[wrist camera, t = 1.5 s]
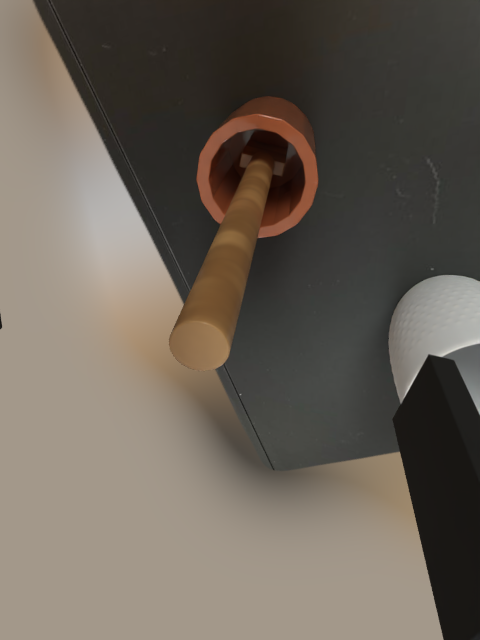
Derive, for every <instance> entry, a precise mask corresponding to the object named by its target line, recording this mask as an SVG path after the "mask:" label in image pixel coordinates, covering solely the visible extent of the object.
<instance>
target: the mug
mask: <svg viewBox="0 0 480 640" xmlns="http://www.w3.org/2000/svg"><path fill="white" fill-rule="evenodd" d="M388 344H389V355H390V363H391V366H392V373H393V375H394V382H395V385H396V388H397V394H398V396H399V399H400V403H402V401H403V399H404V398H405V396H406V394H407V392H408V390H409V389H410V387H411V385H412V383H413V381H414V380H415V378H416V376H417V374H418V372H419V371H420V369H421V367H422V365H423V363H424V362H425V360H426V358H427V356H428V354H430V355H435V356H439V357H443V358H448V359H452V360H454V361H455V363H456V365H457V367H458V369H459V372H460V374H461V376H462V378H463V380H464V382H465V384H466V386H467V389H468V391H469V393H470V395H471V397H472V399H473V401H474V404H475V406H476V408H477V410H478V412H479V414H480V281H477V280H475V279H473V278H467V277H465V276H457V275H441V276H436V277H431V278H428V279H426V280H423V281H421V282H420V283H418V284H416V285H415V286H414V287H412V288H411V289H410V290H409V291H408V292H407V293H406V294H405V295H404V296H403V297H402V299H401V300H400V301H399V303H398V304H397V307H396V309H395V310H394V314H393V316H392V320H391V324H390V331H389V341H388Z"/></svg>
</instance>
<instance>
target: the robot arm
mask: <svg viewBox="0 0 480 640" xmlns="http://www.w3.org/2000/svg"><path fill="white" fill-rule="evenodd" d="M1 328H2V323H1V316H0V329H1ZM393 423H394V427H395V432H396V436H397V440H398V445H399V449H400V453H401V458H402V462H403V466H404V470H405V475H406V479H407V483H408V487H409V492H410V496H411V501H412V504H413V509H414V513H415V518H416V522H417V527H418V531H419V535H420V540H421V544H422V548H423V552H424V557H425V560H426V565H427V570H428V574H429V578H430V583H431V587H432V591H433V596H434V600H435V604H436V608H437V612H438V617H439V622H440V625H441V630H442V634H443V639H444V640H480V414H479V412H478V410H477V408H476V406H475V404H474V401H473V399H472V397H471V395H470V393H469V391H468V389H467V386H466V384H465V382H464V380H463V378H462V376H461V374H460V372H459V369H458V367H457V365H456V363H455V361H454V360H452V359H448V358H443V357H439V356H435V355H430V354H428V356H427V358H426V360H425V362H424V363H423V365H422V367H421V369H420V371H419V372H418V374H417V376H416V378H415V380H414V381H413V383H412V385H411V387H410V389H409V390H408V392H407V394H406V396H405V398H404V399H403V401H402V403H401V405H400V407H399V408H398V410H397V412H396V414H395V416H394V418H393Z"/></svg>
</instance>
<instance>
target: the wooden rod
mask: <svg viewBox="0 0 480 640" xmlns="http://www.w3.org/2000/svg"><path fill="white" fill-rule="evenodd" d="M287 151H288V149H287V148H284V147H279V146H275V145H271V144H267V143H262V142H258V141H254V140H249V141H248V143H247V144H246V146H245V148H244V150H243V152H242V153H241V158H240V163H239V167H242V168H246V170H245V173H244V175H243V177H242V179H241V181H240V184H239V186H238V188H237V190H236V192H235V194H234V197H233V199H232V201H231V203H230V205H229V208H228V210H227V212H226V214H225V216H224V219H223V221H222V223H221V225H220V227H219V230H218V232H217V234H216V236H215V238H214V240H213V243H212V245H211V247H210V249H209V251H208V254H207V256H206V258H205V260H204V262H203V265H202V267H201V269H200V271H199V273H198V275H197V278H196V280H195V282H194V284H193V286H192V289H191V291H190V293H189V295H188V297H187V300H186V302H185V304H184V306H183V309H182V311H181V313H180V315H179V317H178V319H177V322H176V324H175V326H174V328H173V330H172V332H171V335H170V338H169V346H170V350H171V352H172V354H173V356H174V357H175V358H176V360H177V361H179V362H180V363H181V364H182V365H184V366H186V367H188V368H190V369H193V370H198V371H209V370H214V369H216V368H218V367H220V366H221V365H223V364H224V363H225V361H226V360H227V358H228V357H229V353H230V349H231V345H232V341H233V337H234V333H235V329H236V324H237V320H238V316H239V312H240V308H241V304H242V300H243V295H244V291H245V287H246V283H247V279H248V275H249V271H250V266H251V262H252V258H253V254H254V250H255V246H256V242H257V238H258V233H259V229H260V225H261V221H262V217H263V213H264V209H265V204H266V200H267V196H268V192H269V188H270V184H271V180H272V175H276V176H281V177H282V176H283V172H284V168H285V163H286V157H287Z"/></svg>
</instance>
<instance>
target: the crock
mask: <svg viewBox="0 0 480 640" xmlns="http://www.w3.org/2000/svg"><path fill="white" fill-rule="evenodd" d="M249 140H254V141H258V142H262V143H267V144H271V145H275V146H279V147H284V148H287V149H288V151H287V157H286V163H285V168H284V172H283V176H282V177H281V176H276V175H272V180H271V184H270V188H269V192H268V196H267V200H266V204H265V209H264V213H263V217H262V221H261V225H260V229H259V233H258V238H262V237H270V236H276V235H279V234H281V233H283V232H285V231H286V230H288V229H290V228H292V227H293V226H295V225H297V223H299V221H300V220H301V219H302V217H303V216H304V215H305V214H306V212H307V211H308V210H309V209H310V207H311V205H312V203H313V200H314V197H315V193H316V190H317V186H318V171H317V160H316V149H315V139H314V132H313V129H312V127H311V125H310V122H309V120H308V119H307V117H306V116H305V114H304V113H303V112H302V111H301V110H300V109H299V108H298V107H297V106H296V105H294V104H293V103H291V102H289V101H287V100H285V99H282V98H279V97H268V96H266V97H259V98H256V99H253V100H250V101H248V102H247V103H245V104H243V105H242V106H241V107H240V108H238V109H237V110H236V111H234V112H233V113H232V114H231V115H230V116H229V117H228V118H227V119H226V120H225V121H224V122H223V123H222V124H221V125H220V126H219V127H218V128H217V129H216V130H215V131H214V132H213V133H212V135H211V136H210V138H209V140H208V141H207V143H206V145H205V147H204V148H203V150H202V152H201V153H200V156H199V163H198V171H197V184H198V188H199V192H200V196H201V200H202V202H203V204H204V205H205V207H206V208H207V210H208V211H209V212H210V214H211V215H212V217H213V218H214V220H216V221H217V222H218V223H219V224H221V223H222V221H223V219H224V216H225V214H226V212H227V210H228V208H229V205H230V203H231V201H232V199H233V197H234V194H235V192H236V190H237V188H238V186H239V184H240V181H241V179H242V177H243V175H244V173H245V170H246V168H242V167H239V163H240V158H241V153H242V152H243V150H244V148H245V146H246V144H247V143H248V141H249Z"/></svg>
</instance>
